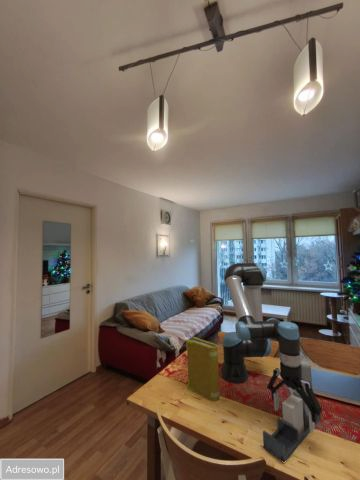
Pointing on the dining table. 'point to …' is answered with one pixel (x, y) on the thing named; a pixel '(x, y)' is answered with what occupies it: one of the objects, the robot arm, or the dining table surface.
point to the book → (203, 368)
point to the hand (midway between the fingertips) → (293, 418)
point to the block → (293, 412)
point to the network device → (303, 372)
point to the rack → (287, 435)
